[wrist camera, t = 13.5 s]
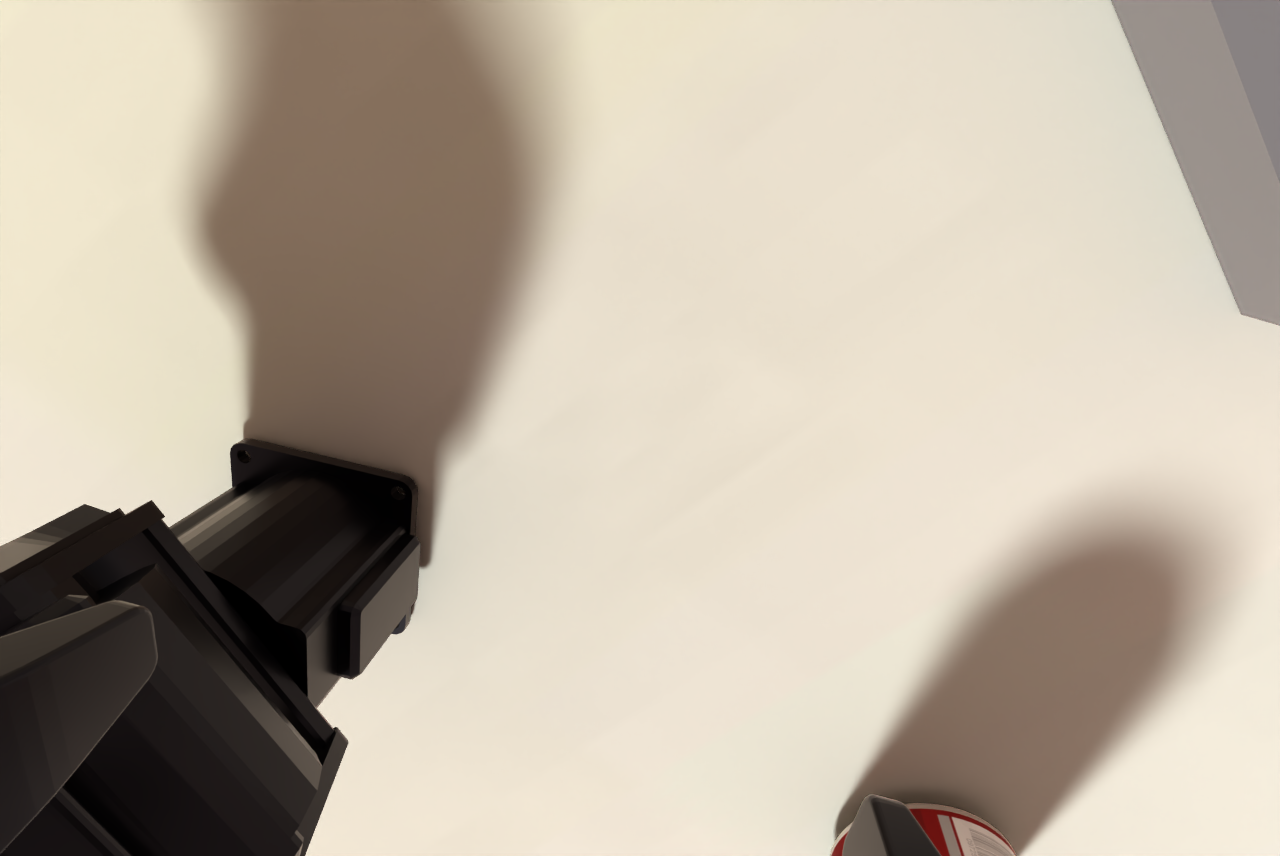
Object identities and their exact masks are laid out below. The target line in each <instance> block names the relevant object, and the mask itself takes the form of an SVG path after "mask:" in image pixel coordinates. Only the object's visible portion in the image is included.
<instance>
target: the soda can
mask: <svg viewBox="0 0 1280 856" xmlns="http://www.w3.org/2000/svg"><path fill="white" fill-rule="evenodd" d="M904 805H905V806H906V807H908V809H909V810H910V811H911V813H912V814H913V816H914V817H915V818H916V820H917V821H918V823H919V824H920V826H921V827H922V828H923V830H924V831H925V833H926V834H927V836H928V837H929V838H930V840H931V841H932V843H933V844H934V846H935V847H936V848H937V850H938V851H939V853H940V854H941V856H1016V853H1015V851H1014V849H1013V847H1012V846H1011V844H1010V843H1009V841H1008V840H1007V839H1006V838H1005V837H1004V835H1003V834H1002V833H1001V832H1000V831H999V830H997V829H996V828H995V827H994V826H992V825H991V824H990V823H988V822H986V821H985V820H983V819H982V818H980V817H978V816H976V815H974V814H971V813H969V812H966V811H964V810H961V809H957V808H954V807H950V806H945V805H939V804H930V803H907V804H904ZM852 823H853V822H852ZM852 823H851V824H850V825H848V826H847V827H846V828H845V829H844V830H843V831H842V832H841V834H840V835H839V836H838V838H837V839H836V841H835V842H834V845H833V847H832V849H831V853H830V856H842V854H843V846H844V842H845V838H846V836H847V834H848V831H849V829H850V827H851V825H852Z"/></svg>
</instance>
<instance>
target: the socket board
mask: <svg viewBox="0 0 1280 856" xmlns="http://www.w3.org/2000/svg"><path fill="white" fill-rule="evenodd" d="M1111 1H1112V3H1113V6H1114V8H1115V11H1116V13H1117V15H1118V18H1119V20H1120V23H1121V25H1122V28H1123V30H1124V32H1125V35H1126V37H1127V40H1128V42H1129V44H1130V47H1131V49H1132V52H1133V54H1134V57H1135V59H1136V61H1137V64H1138V66H1139V69H1140V71H1141V73H1142V76H1143V78H1144V81H1145V83H1146V86H1147V88H1148V90H1149V93H1150V95H1151V98H1152V100H1153V103H1154V105H1155V107H1156V110H1157V112H1158V115H1159V117H1160V119H1161V122H1162V124H1163V127H1164V129H1165V132H1166V134H1167V136H1168V139H1169V141H1170V144H1171V146H1172V148H1173V151H1174V153H1175V156H1176V158H1177V161H1178V163H1179V165H1180V168H1181V170H1182V173H1183V175H1184V177H1185V180H1186V182H1187V185H1188V187H1189V190H1190V192H1191V194H1192V197H1193V199H1194V202H1195V204H1196V206H1197V209H1198V211H1199V214H1200V216H1201V219H1202V221H1203V223H1204V226H1205V228H1206V231H1207V233H1208V235H1209V238H1210V240H1211V243H1212V245H1213V248H1214V250H1215V252H1216V255H1217V257H1218V260H1219V262H1220V264H1221V267H1222V269H1223V272H1224V274H1225V277H1226V279H1227V281H1228V284H1229V286H1230V289H1231V291H1232V293H1233V296H1234V298H1235V301H1236V303H1237V306H1238V308H1239V310H1240V313H1241V315H1245V316H1248V317H1252V318H1255V319H1259V320H1262V321H1266V322H1269V323H1273V324H1276V325H1280V0H1111Z"/></svg>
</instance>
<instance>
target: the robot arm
mask: <svg viewBox="0 0 1280 856" xmlns="http://www.w3.org/2000/svg"><path fill="white" fill-rule="evenodd" d="M245 451H247V452H248V453H249V454H250V456H251V458H250V457H249V456H248V455H247V454H246V452H245ZM230 458H231V473H232V487H233V488H231V489H229V490H228V491H226V492H225V493H223V494H222V495H220V496H218V497H217V498H215V499H214V500H212V501H210V502H209V503H207V504H206V505H204V506H202V507H201V508H199V509H198V510H196V511H195V512H193V513H191V514H190V515H188V516H187V517H185V518H183V519H182V520H180V521H179V522H177V523H175V524H174V525H172V526H171V527H168V526H167V525H166V524H165V522H164V521H163V520H162V518H164V517H165V516H164V515H163V513H162V512H161V511H160V510H159V508H158V507H157V506H156V505H155V504H154V502H153V501H152V500H151V501H149V502H147V503H145V504H144V505H142V506H140V507H138V508H136V509H135V510H133V511H131V512H129V513H127V514H124V513H123V511H122V510H121V509H120V508H119V509H117V510H115V511H113V512H111V513H109V512H106V511H103V510H100V509H97V508H94V507H92V506H89V505H86V504H84V505H82V506H80V507H78V508H76V509H74V510H72V511H70V512H68V513H66V514H65V515H63V516H61V517H59V518H57V519H55V520H53V521H51V522H49V523H47V524H45V525H43V526H41V527H39V528H37V529H35V530H33V531H31V532H29V533H27V534H25V535H23V536H21V537H19V538H17V539H15V540H13V541H11V542H9V543H6V544H4V545H2V546H0V856H305V854H306V852H307V849H308V846H309V844H310V841H311V839H312V836H313V833H314V831H315V828H316V826H317V823H318V820H319V818H320V815H321V813H322V810H323V807H324V805H325V802H326V800H327V797H328V794H329V792H330V789H331V787H332V784H333V781H334V779H335V776H336V774H337V771H338V768H339V766H340V763H341V761H342V758H343V755H344V753H345V750H346V748H347V745H348V740H347V739H346V738H345V736H344V735H343V734H342V733H341V731H340V730H339V729H338V728H337V727H335V728H332V726H331V725H330V724H329V723H328V722H327V720H326V719H325V718H324V717H323V715H322V714H321V713H320V712H319V711H318V709H317V707H318V706H319V705H320V704H321V702H322V701H323V700H324V698H325V697H326V696H327V695H328V693H329V692H330V691H331V689H332V688H333V687H334V686H335V684H336V683H337V682H338V681H339V679H340V678H341V677H344V678H348V679H354V678H355V677H357V676H358V675H360V674H361V673H362V672H363V671H364V669H365V668H366V667H367V665H368V664H369V663H370V661H371V660H372V659H373V657H374V656H375V655H376V653H377V652H378V651H379V649H380V648H381V646H382V645H383V644H384V642H385V641H386V640H387V638H388V637H389V636H390V634H399V633H402V632H403V631H404V630H405V628H406V627H407V625H408V624H409V622H410V617H411V606H412V605H413V604H414V602H415V601H416V599H417V594H418V578H419V562H420V546H421V544H420V541H419V539H418V537H417V536H415V531H416V514H417V496H418V489H417V485H416V484H415V482H414V481H413V480H412V479H411V478H410V477H408V476H405V475H402V474H397V473H393V472H389V471H385V470H380V469H376V468H372V467H368V466H364V465H359V464H355V463H351V462H347V461H343V460H338V459H334V458H330V457H326V456H321V455H317V454H313V453H309V452H305V451H300V450H296V449H292V448H288V447H283V446H279V445H275V444H271V443H267V442H262V441H258V440H254V439H244V440H242V441H240V442H238V443H236V444H234V445H233V446H232V448H231V451H230ZM397 487H400V488H402V489H403V490H404V491H405V495H403V494H401V493H400V492H399V491H398V490H397ZM842 856H941V854H940V853H939V851H938V850H937V848H936V847H935V846H934V844H933V843H932V841H931V840H930V838H929V837H928V836H927V834H926V833H925V831H924V830H923V828H922V827H921V826H920V824H919V823H918V821H917V820H916V818H915V817H914V816H913V814H912V813H911V811H910V810H909V809H908V807H906V806H905V805H904V804H903V803H902V802H900V801H897V800H894V799H890V798H886V797H882V796H878V795H874V794H870V795H867V796H866V797H865V798H864V800H863V801H862V803H861V805H860V807H859V810H858V812H857V814H856V816H855V818H854V821H853V823H852V825H851V827H850V829H849V831H848V834H847V836H846V838H845V842H844V846H843V854H842Z"/></svg>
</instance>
